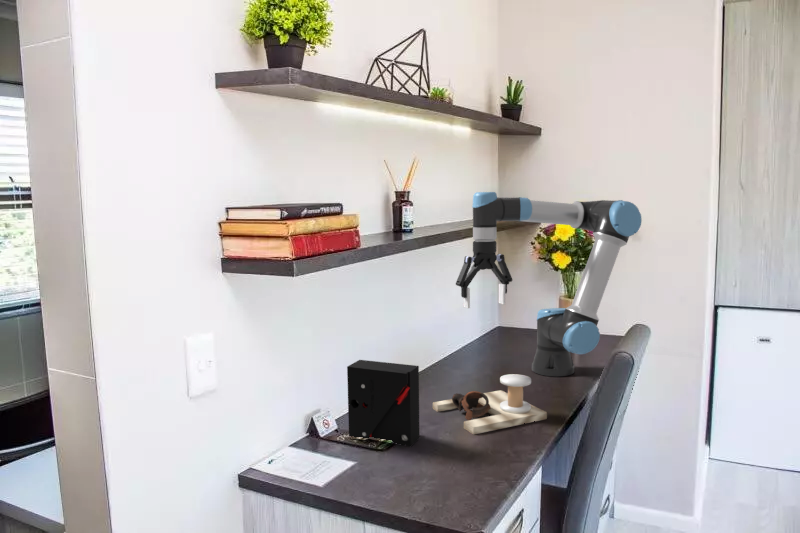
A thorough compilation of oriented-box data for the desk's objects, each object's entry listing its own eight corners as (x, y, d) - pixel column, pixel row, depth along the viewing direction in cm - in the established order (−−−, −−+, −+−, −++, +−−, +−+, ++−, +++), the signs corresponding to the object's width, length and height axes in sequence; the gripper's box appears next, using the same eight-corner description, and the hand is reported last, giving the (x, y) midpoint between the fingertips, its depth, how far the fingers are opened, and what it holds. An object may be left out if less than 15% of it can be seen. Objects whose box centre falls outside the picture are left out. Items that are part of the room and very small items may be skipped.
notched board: (500, 396, 203) (500, 390, 203) (546, 418, 182) (546, 412, 182) (432, 408, 192) (432, 402, 192) (473, 434, 172) (473, 427, 171)
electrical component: (422, 435, 172) (421, 363, 169) (408, 449, 162) (407, 374, 160) (364, 426, 179) (363, 357, 176) (347, 439, 169) (345, 367, 167)
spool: (518, 401, 192) (518, 372, 191) (537, 410, 184) (537, 380, 183) (493, 406, 188) (494, 376, 187) (511, 415, 180) (512, 385, 179)
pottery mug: (492, 412, 190) (495, 394, 185) (481, 435, 183) (485, 417, 178) (455, 398, 194) (457, 380, 189) (443, 420, 187) (445, 401, 182)
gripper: (509, 237, 211) (509, 300, 213) (444, 241, 200) (445, 307, 202) (523, 239, 204) (522, 303, 206) (457, 243, 193) (457, 311, 196)
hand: (484, 305), depth 204 cm, fingers open, 13 cm apart
